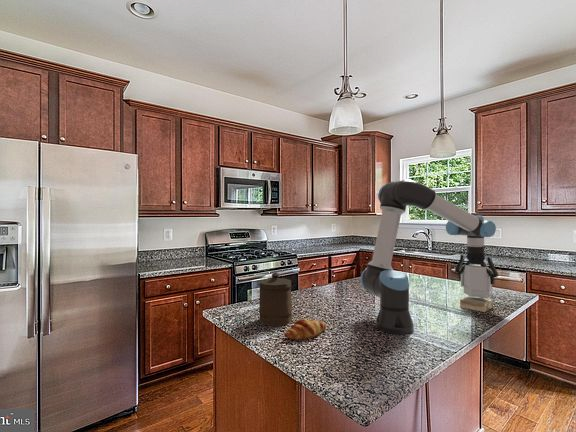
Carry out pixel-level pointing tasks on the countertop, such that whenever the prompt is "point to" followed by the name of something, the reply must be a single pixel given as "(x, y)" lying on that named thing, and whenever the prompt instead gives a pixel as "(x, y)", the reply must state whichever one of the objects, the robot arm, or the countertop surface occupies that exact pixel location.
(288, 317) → the wooden container
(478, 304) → the tan picture frame
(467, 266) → the supplement box
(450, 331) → the countertop surface
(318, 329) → the croissant
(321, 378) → the countertop surface
